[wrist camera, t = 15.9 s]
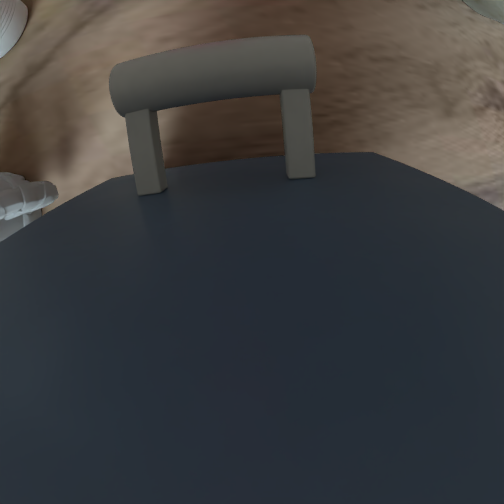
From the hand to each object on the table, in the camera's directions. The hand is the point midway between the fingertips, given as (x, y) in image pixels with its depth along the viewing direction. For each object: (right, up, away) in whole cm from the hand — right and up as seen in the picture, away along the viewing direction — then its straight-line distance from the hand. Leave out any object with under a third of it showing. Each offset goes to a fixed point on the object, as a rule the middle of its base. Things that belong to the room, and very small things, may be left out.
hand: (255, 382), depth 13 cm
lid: (-1, +6, -7) cm, 9 cm away
